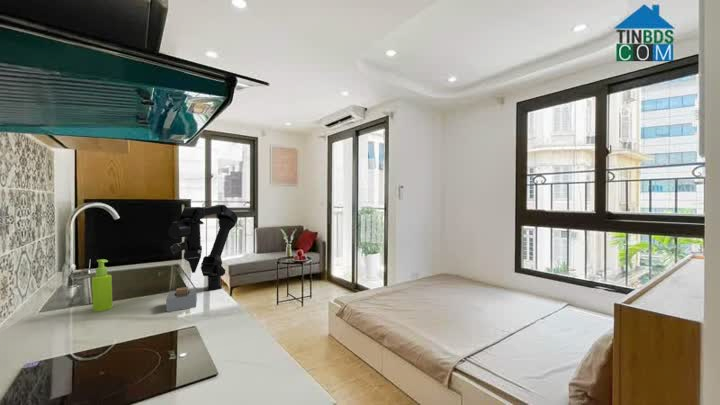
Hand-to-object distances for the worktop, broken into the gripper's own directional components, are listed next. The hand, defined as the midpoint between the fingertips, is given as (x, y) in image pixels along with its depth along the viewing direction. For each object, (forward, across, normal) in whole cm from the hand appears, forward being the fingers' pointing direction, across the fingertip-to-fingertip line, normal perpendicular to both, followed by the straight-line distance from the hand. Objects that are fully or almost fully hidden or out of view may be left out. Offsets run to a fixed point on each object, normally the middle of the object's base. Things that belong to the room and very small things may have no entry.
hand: (194, 270), depth 130 cm
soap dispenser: (+12, -2, -32) cm, 34 cm away
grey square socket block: (+12, +9, -4) cm, 16 cm away
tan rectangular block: (+12, +9, -4) cm, 16 cm away
